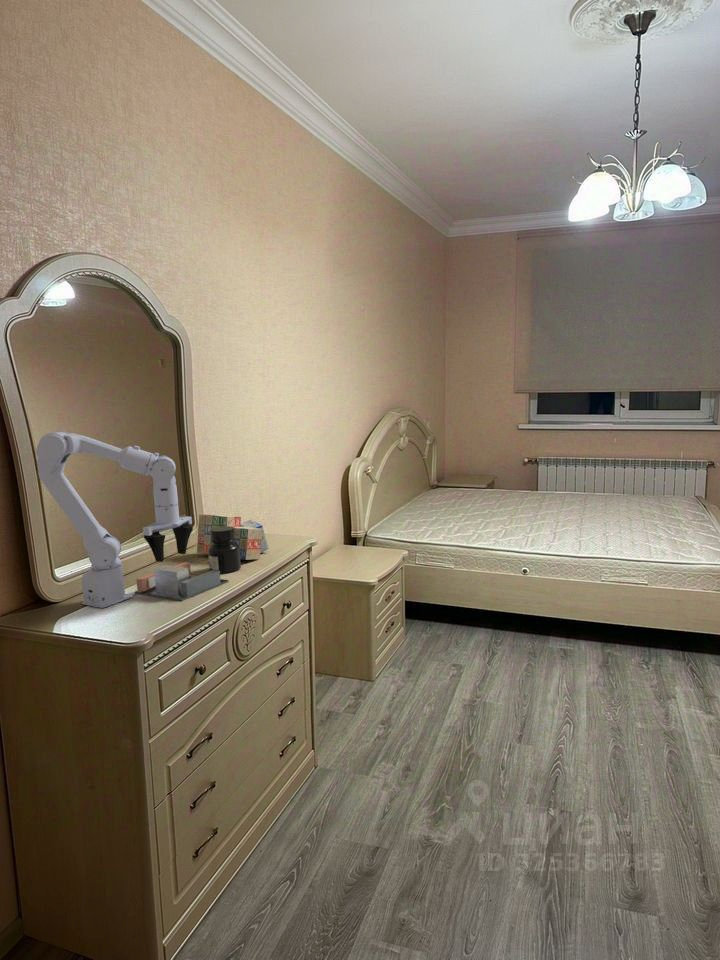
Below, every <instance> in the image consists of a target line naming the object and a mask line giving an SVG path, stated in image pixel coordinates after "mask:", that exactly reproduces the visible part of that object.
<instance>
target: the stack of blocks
mask: <svg viewBox="0 0 720 960" xmlns="http://www.w3.org/2000/svg"><path fill="white" fill-rule="evenodd" d="M241 519H242V518H241V516H234V515H222V514H209V513H207V514H205V513H203V514H202V513H201V514H198V524H197V526H198V527H197V543H196V546H197V547H196V554H200V555H201V554H202V555H207V556H209V555H208V549H209V547H210V546H211V545H212V544H213V543H212V542H211V534H210V529H212V528H215V527H222V526H232V527H234V530H235V541H234V542H235V543H236V544H238V545H239V547H240V559H241V560H244V561H246V560H247V561H250V560H260V558H261V553H260V548H261V537H262V529H258V528H250V527H240V524H241V523H242V522H241V521H242V520H241Z"/></svg>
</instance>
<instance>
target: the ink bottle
mask: <svg viewBox="0 0 720 960" xmlns="http://www.w3.org/2000/svg"><path fill="white" fill-rule="evenodd" d="M210 534H211V542H212V543H213V544H212V545H211V546H210V547H209V549H208V555H207V556H208V564H209V565H208V566H209V571H212V570H220V574H227V573H233V572H237V571H239V570H240V569H241V568H242V563H241V562H242V561H241V560H242V559H240V547H239V545H238V544H236V543H235V542H234V541H235V530H234V527H232V526H222V527H215V528H212V529H210Z"/></svg>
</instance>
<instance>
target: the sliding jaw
mask: <svg viewBox="0 0 720 960" xmlns="http://www.w3.org/2000/svg"><path fill="white" fill-rule="evenodd" d="M174 566H177V567H184V568H188V571H189V575H192V574H191V573H192V572H191V562H186V561H184V562H181V563H178V564H175V565H174ZM135 581H136V589H137V590H136V591H142V592H143V591H146V590H149V589H151V588H154V587H156V584H155V574H154V572H151V573H149V574H146V575H143V576H141V577H138V578H136V579H135Z"/></svg>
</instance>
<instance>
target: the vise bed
mask: <svg viewBox="0 0 720 960" xmlns="http://www.w3.org/2000/svg"><path fill="white" fill-rule="evenodd" d="M226 583H229V580H228V579H223V578H222V579H221V573H220V570H212V571H210V570H209V571H206V572H204V573H202V574H199V575H194V574H189V579H188V580H185V581H183V582H181V584H180V591H181V595H173V594H167V593H161V592H156V587H154V588H151V589H149V590H146V591H143V592H142V591H137V590H135V591H134V593H135V594H138V595H142V596H149V597H155V598H161V599H166V600H172V601H179V602H184V601H185V600H188V599H191V598H194V597H196V596H198V595H200V594H203V593H206V592H208V591H210V590H213V589H215V588H218V587H220V586H222V585H225V584H226Z"/></svg>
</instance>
